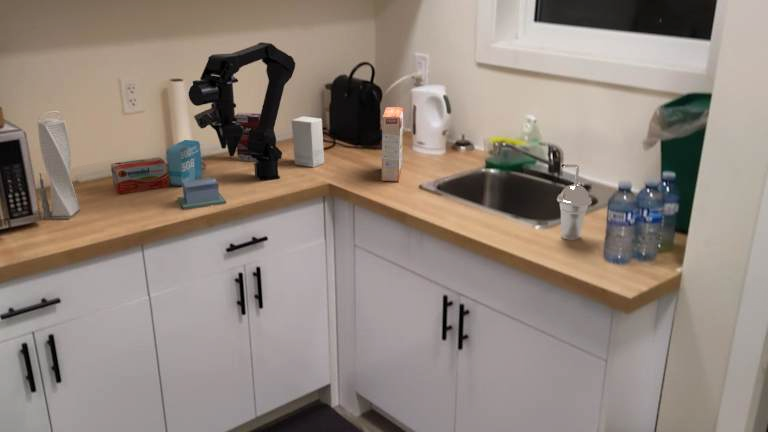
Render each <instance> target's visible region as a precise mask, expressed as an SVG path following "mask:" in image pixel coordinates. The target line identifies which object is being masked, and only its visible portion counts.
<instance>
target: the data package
mask: <svg viewBox="0 0 768 432" xmlns="http://www.w3.org/2000/svg"><path fill="white" fill-rule="evenodd" d="M166 162H167V163H166V164H167V169H168V176H169V185H171V186H178V187H179V186H180V187H183V186H182V182H183V181H191V180H198V179H200V178H201V177H202V176H203V164H202V163H203V162H202V151H201V144H200V142H199V140H190V139H189V140H188V139H184V140H182V141H179V142H177V143H175V144H173V145H171V146H169V147H167V149H166Z"/></svg>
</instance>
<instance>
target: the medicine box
mask: <svg viewBox="0 0 768 432" xmlns="http://www.w3.org/2000/svg"><path fill="white" fill-rule="evenodd" d="M110 171H111V179H112V183H113V186H114V188H115V190H116V192H117V194H118V195H124V194H130V193H138V192H144V191H145V192H146V191H153V190H158V189H167V188H169V187H170V182H169V173H168V164H167V163H166V162H165V160H164V159H163V158H162V157H161V156H157V157H149V158H148V157H147V158H141V159H133V160H126V161H118V162H111V163H110Z"/></svg>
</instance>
